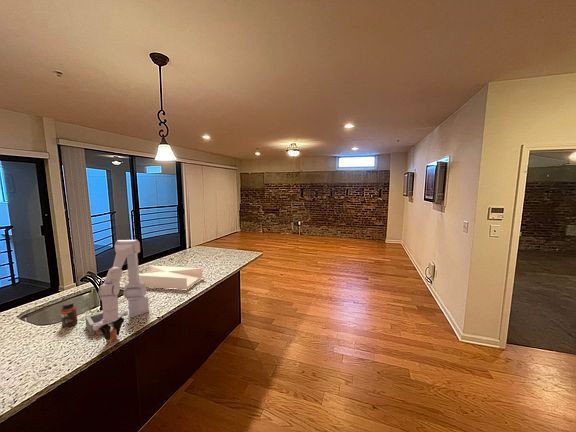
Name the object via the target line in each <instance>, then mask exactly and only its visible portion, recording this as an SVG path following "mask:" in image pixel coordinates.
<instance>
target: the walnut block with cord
mask: <svg viewBox="0 0 576 432" xmlns="http://www.w3.org/2000/svg"><path fill="white" fill-rule="evenodd" d="M96 323H98V322H96ZM96 323H94V324H96ZM108 325H109V326H111V323H109V324H108ZM95 335H97V336H100V335H103V333H102V331H101V330H100V329H99V328H98V330H95ZM116 340H118V335H117V331H116V329H115V328H114V326H113V327H111V329H110V340H106V341H107V342H108V343H112V342H114V341H116Z"/></svg>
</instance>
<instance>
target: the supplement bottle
mask: <svg viewBox="0 0 576 432" xmlns="http://www.w3.org/2000/svg"><path fill="white" fill-rule="evenodd" d="M60 316H61V317H60V318H61V327H63V328H68V327H72V326H74V325H76V324H78V315H77V306H76V305H74V301H68V302H65V303H63V304H62V308H61V309H60Z"/></svg>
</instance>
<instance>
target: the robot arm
mask: <svg viewBox="0 0 576 432" xmlns="http://www.w3.org/2000/svg"><path fill="white" fill-rule="evenodd" d="M114 252H115V256H114V260H113V264H112V267H111V268H109V269H108V272H107V274H106V277H105V280H104V281H103V283H102V284H101V285H100V286H99V287H98V292H97V294H98V297H99V299H100V301H101V302H102V303H101V305H102V312H103V319H102V320H101V321H99V322H98V323H96V324H95V325H93V330H98V328H99V329H100V330H101V331H102V333H103V334H102V335H103V337H104V339H105V340H106V341H107V340H110V329H111V328H112V326H111V325H110V326H109V325H108V324H109V323H110V324H111V323H112V324H113V327H114V328H115V329H116V331H117V336H119V335H120V332H121V328H122V325H123V323H124V321H125V318H123V317H125V316H128V317H130V318H135V317H137V316H140V315H143V314H146V313H148V312H150V306H149V304H150V303H149V297H148V296H147V288H146V286H145V283H144V282H142V281H140V280H139V274H140V273H139V272H140V271H139V258H138V254H139V253H141V244H140V241H139V240H138V239H118V240H116V242H115V243H114ZM125 262H127V273H128V274H127V275H128V282H127V283H126V284H125V285H124V290H123V297H124V298H125V299H126V300H127V303H128V310H123V311H119V300H118V295H119V293H120V290H121V283H120V282H121V278H122V276H123V272H124V271H123V269H122V268H123V266H124V264H125Z"/></svg>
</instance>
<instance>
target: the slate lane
mask: <svg viewBox="0 0 576 432" xmlns="http://www.w3.org/2000/svg"><path fill="white" fill-rule="evenodd" d="M102 319H103V311H100V312H97V313H94V314H91V315H88V316H85V327H86V329H87V330H88V333H89V334H90V336H92V335H96V333H95V330H93V325H95V324H94V323H96V322H99V321H101V320H102Z"/></svg>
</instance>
